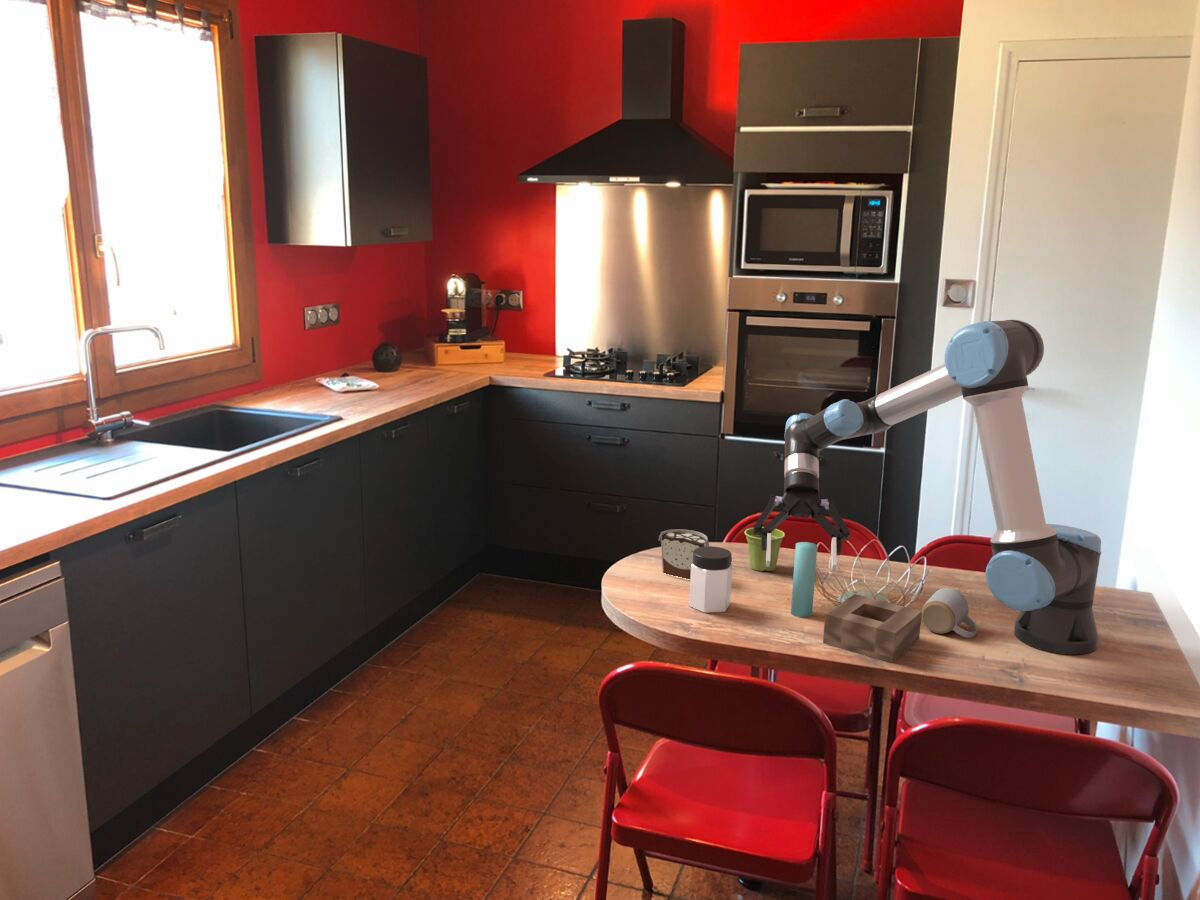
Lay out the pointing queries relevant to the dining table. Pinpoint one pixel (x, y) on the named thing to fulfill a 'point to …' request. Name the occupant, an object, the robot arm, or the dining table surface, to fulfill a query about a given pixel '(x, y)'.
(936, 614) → the ceramic mug
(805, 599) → the pin
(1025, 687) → the dining table surface
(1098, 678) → the dining table surface
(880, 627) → the hole block
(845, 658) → the dining table surface
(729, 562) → the jar
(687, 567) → the food container
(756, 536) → the plant pot
